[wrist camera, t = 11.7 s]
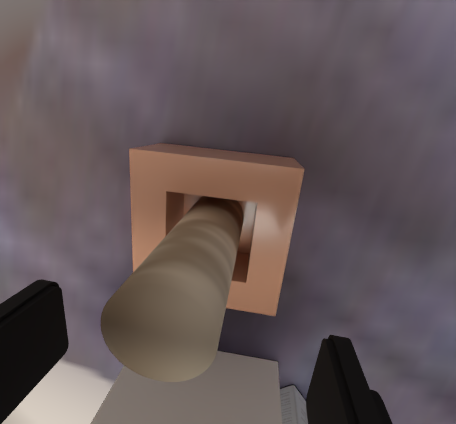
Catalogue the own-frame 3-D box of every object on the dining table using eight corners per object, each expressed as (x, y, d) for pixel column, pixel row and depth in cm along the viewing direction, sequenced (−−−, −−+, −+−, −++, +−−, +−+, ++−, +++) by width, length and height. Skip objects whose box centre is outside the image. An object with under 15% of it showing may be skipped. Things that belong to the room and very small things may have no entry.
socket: (293, 157, 19) (304, 169, 14) (272, 275, 22) (275, 316, 17) (161, 143, 19) (129, 148, 15) (160, 258, 23) (133, 292, 18)
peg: (246, 195, 19) (223, 295, 8) (240, 244, 20) (212, 392, 9) (194, 188, 19) (97, 274, 8) (191, 236, 21) (104, 369, 9)
